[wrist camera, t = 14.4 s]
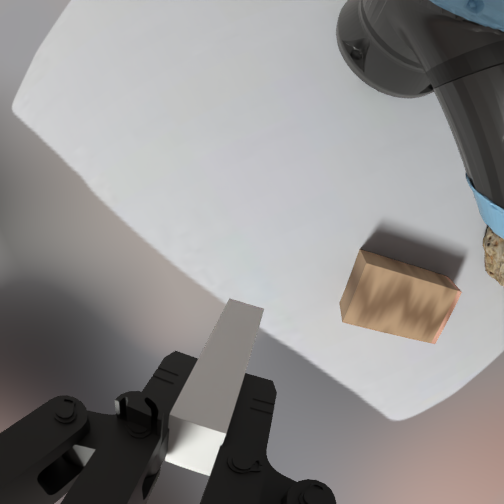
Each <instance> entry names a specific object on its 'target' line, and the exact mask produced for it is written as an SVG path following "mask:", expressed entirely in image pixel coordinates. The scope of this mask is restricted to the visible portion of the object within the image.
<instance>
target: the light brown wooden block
mask: <svg viewBox="0 0 504 504" xmlns="http://www.w3.org/2000/svg"><path fill="white" fill-rule="evenodd" d="M461 293H462V292H461V291H460V289H459V288H458V287H457V286H456V285H455V284H454V283H453V282H452V281H451V279H450V278H449V277H447V276H444V275H441V274H438V273H435V272H432V271H429V270H426V269H423V268H420V267H416V266H413V265H410V264H407V263H404V262H400V261H397V260H394V259H391V258H388V257H384V256H381V255H378V254H374V253H371V252H368V251H365V250H361V249H360V250H359V253H358V256H357V258H356V261H355V264H354V267H353V269H352V272H351V275H350V277H349V280H348V283H347V285H346V288H345V291H344V293H343V296H342V298H341V301H340V309H341V316H342V322H344V323H347V324H351V325H355V326H360V327H364V328H368V329H372V330H376V331H380V332H384V333H389V334H393V335H397V336H401V337H406V338H410V339H415V340H419V341H424V342H428V343H433V344H435V343H436V341H437V339H438V338H439V336H440V334H441V332H442V330H443V329H444V327H445V325H446V323H447V321H448V319H449V317H450V315H451V313H452V311H453V309H454V307H455V305H456V303H457V301H458V299H459V297H460V295H461Z"/></svg>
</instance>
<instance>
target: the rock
mask: <svg viewBox="0 0 504 504" xmlns="http://www.w3.org/2000/svg"><path fill="white" fill-rule="evenodd" d="M483 247H484V250H485V268H486V270H485V271H487V273H488V274H489V275H490V276H491V277H492V278H494V279H496V281H498V282H499V284H500V285H501V286H504V239H503V238H501V237H500V236H498V235H497V234H495V233H494V232H493V231H492V229H491V228H490V227H488V228H487V233H486V236H485V237H484V239H483Z"/></svg>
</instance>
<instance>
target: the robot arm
mask: <svg viewBox="0 0 504 504" xmlns="http://www.w3.org/2000/svg"><path fill="white" fill-rule="evenodd" d="M336 36H337V43H338V46H339V50H340V52H341V54H342V56H343V58H344V60H345V62H346V63H347V65H348V66H349V67H350V69H351V70H352V71H353V72H354V73H355V74H356V75H357V76H358V77H359V78H360V79H361V80H362V81H364V82H365V83H366V84H368V85H369V86H371V87H372V88H374V89H376V90H378V91H380V92H382V93H384V94H387V95H390V96H394V97H399V98H417V97H421V96H425V95H427V94H430V93H432V92H435V94H436V96H437V98H438V101H439V103H440V105H441V107H442V109H443V112H444V114H445V116H446V119H447V121H448V123H449V126H450V128H451V131H452V133H453V136H454V139H455V141H456V144H457V147H458V149H459V152H460V155H461V158H462V161H463V164H464V167H465V170H466V179H467V182H468V184H469V186H470V188H471V189H472V190H473V193H474V196H475V199H476V202H477V205H478V208H479V212H480V214H481V217H482V218H483V220H484V222H485V223H486V224H487V225H488V226H489V227H490V228H491V229H492V231H493V232H494V233H495V234H497V235H498V236H500V237H501V238H503V239H504V0H348V1H347V2H346V3H345V5H344V6H343V8H342V10H341V12H340V14H339V18H338V22H337V28H336ZM263 311H264V309H263V308H259V307H256V306H253V305H249V304H246V303H243V302H239V301H236V300H233V299H229V300H228V302H227V304H226V306H225V308H224V311H223V312H222V314H221V316H220V318H219V320H218V322H217V324H216V326H215V327H214V329H213V331H212V333H211V335H210V337H209V339H208V341H207V343H206V345H205V347H204V349H203V351H202V353H201V355H200V357H199V358H198V359H197V358H194V357H191V356H189V355H186V354H183V353H180V352H177V351H175V352H173V353H171V354H170V355H168V356H166V357H165V358H164V359H163V361H162V362H161V364H160V365H159V367H158V369H157V370H156V371H155V373H154V374H153V377H151V379H150V380H149V382H148V383H147V385H146V387H145V388H144V389H143V391H142V392H140V391H130V392H126V393H124V394H121V395H120V396H119V397H117V398H116V399H115V406H116V415H108V414H101V413H96V412H91V411H87V410H86V407H85V406H84V405H83V403H82V402H81V401H79V400H78V399H76V398H74V397H70V396H57V397H55V398H53V399H51V400H49V401H48V402H46V403H45V404H43V405H42V406H40V407H39V408H37V409H36V410H34V411H33V412H31V413H30V414H29V415H27V416H25V417H24V418H22V419H21V420H19V421H18V422H16V423H15V424H13V425H12V426H10V427H9V428H8V429H6V430H4V431H3V432H1V433H0V504H54V503H55V502H57V501H58V500H59V499H60V498H61V497H63V495H65V494H66V493H67V492H68V493H67V494H66V496H65V497H64V499H63V501H62V502H61V504H146V503H147V500H148V498H149V496H150V494H151V492H152V490H153V488H154V486H155V483H156V481H157V479H158V477H159V475H160V468H161V465H162V463H163V461H164V459H165V456H166V459H165V461H168V462H170V463H173V464H176V465H178V466H181V467H184V468H187V469H190V470H193V471H196V472H199V473H202V474H205V475H208V476H209V479H208V482H207V485H206V488H205V491H204V494H203V496H202V499H201V502H200V504H336V500H335V497H334V494H333V493H332V490H331V489H330V488H329V487H327V485H325V484H324V483H322V482H319V481H317V480H309V479H307V480H302V481H299V482H296V481H294V480H292V479H290V478H288V477H286V476H284V475H282V474H280V473H279V472H277V471H276V470H275V469H274V468H273V467H272V466H271V465H270V463H269V461H268V459H267V455H266V449H267V443H268V438H269V432H270V427H271V422H272V415H273V410H274V404H275V399H276V393H277V392H276V389H275V386H274V384H273V381H271V380H268V379H264V378H261V377H257V376H254V375H250V374H247V373H245V372H246V369H247V365H248V362H249V358H250V355H251V352H252V349H253V345H254V342H255V338H256V335H257V331H258V328H259V325H260V321H261V318H262V314H263Z"/></svg>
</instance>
